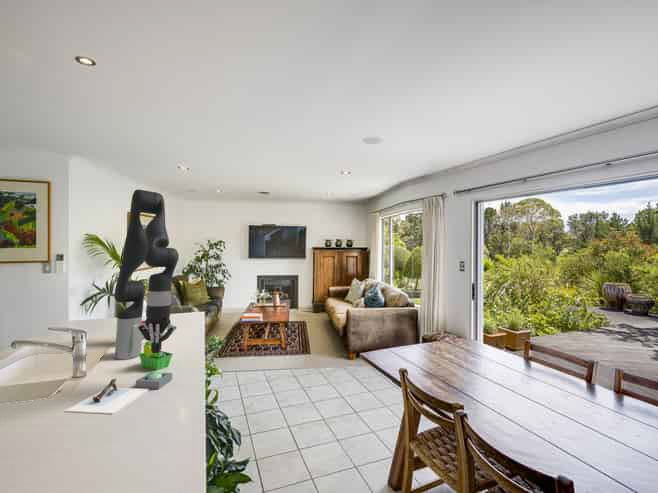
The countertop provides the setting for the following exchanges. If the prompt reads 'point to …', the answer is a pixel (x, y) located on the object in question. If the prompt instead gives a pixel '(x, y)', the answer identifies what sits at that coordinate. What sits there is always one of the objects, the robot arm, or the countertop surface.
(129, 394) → the paper sheet
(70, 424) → the countertop surface
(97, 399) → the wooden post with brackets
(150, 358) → the fruit basket
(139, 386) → the button housing
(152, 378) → the button
